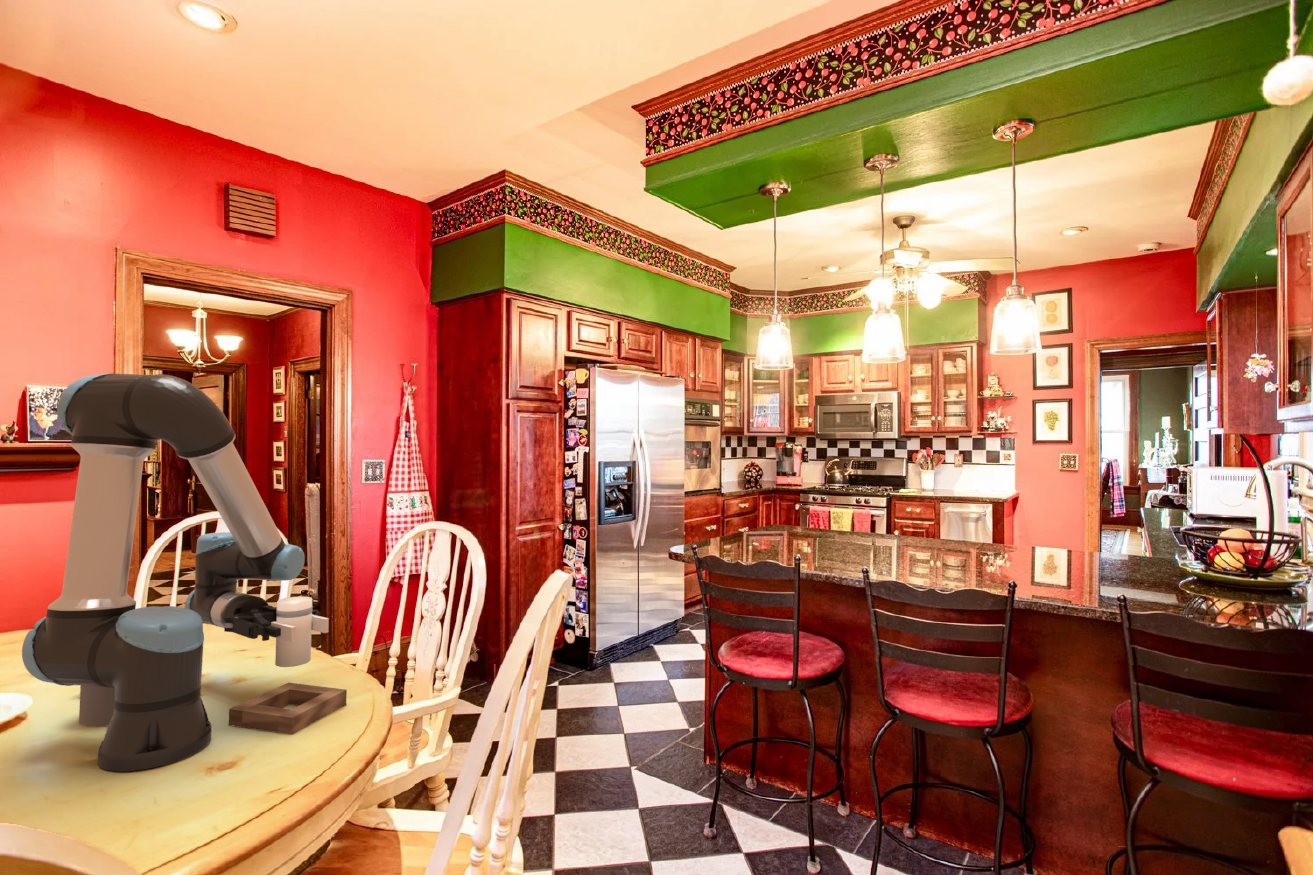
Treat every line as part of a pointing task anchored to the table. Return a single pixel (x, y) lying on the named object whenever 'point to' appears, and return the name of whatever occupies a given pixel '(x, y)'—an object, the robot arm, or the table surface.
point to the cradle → (273, 717)
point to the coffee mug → (96, 705)
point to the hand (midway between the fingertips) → (310, 629)
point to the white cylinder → (300, 616)
